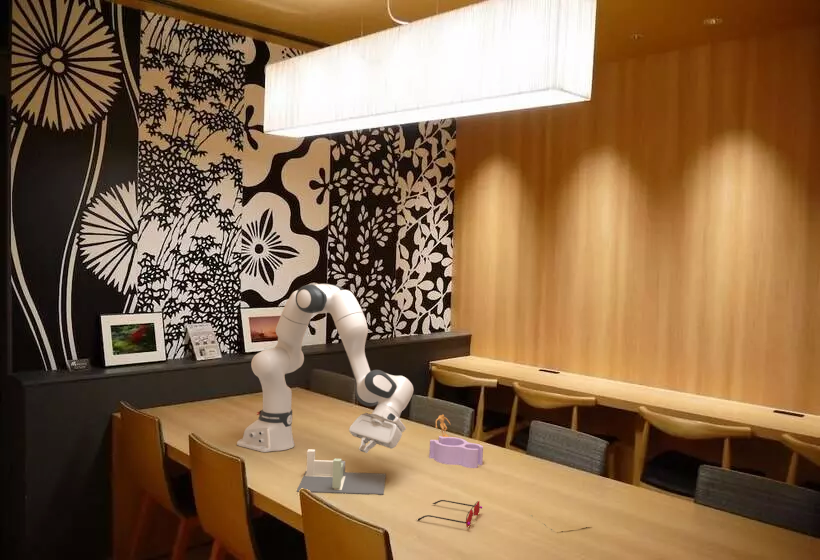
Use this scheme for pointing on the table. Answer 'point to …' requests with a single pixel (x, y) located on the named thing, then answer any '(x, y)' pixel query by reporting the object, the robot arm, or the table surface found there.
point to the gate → (338, 472)
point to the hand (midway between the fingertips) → (362, 451)
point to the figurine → (442, 424)
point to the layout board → (345, 483)
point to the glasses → (468, 520)
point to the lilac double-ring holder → (456, 452)
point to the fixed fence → (318, 465)
